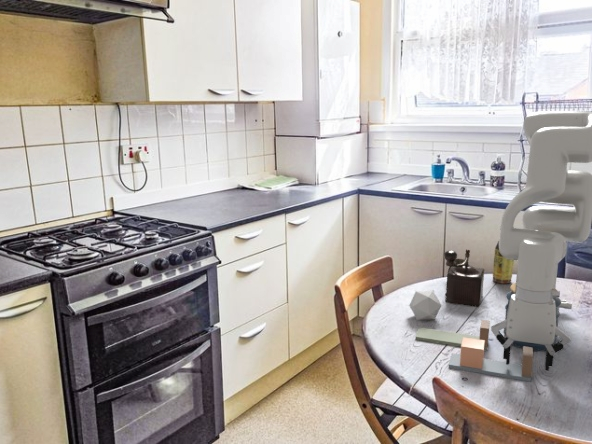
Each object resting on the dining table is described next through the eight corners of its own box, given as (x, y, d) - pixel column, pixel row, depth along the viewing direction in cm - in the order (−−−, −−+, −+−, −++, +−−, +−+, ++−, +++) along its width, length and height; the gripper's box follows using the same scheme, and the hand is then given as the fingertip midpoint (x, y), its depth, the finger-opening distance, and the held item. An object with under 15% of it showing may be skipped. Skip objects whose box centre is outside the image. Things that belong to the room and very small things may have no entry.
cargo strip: (530, 369, 123) (532, 346, 121) (530, 381, 117) (533, 358, 116) (451, 356, 130) (452, 334, 128) (448, 367, 124) (449, 345, 123)
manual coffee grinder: (448, 291, 172) (450, 238, 168) (483, 295, 168) (486, 242, 163) (439, 308, 158) (442, 251, 154) (477, 313, 154) (481, 255, 150)
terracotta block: (483, 359, 126) (484, 340, 125) (482, 369, 122) (483, 349, 120) (462, 355, 128) (463, 337, 127) (459, 365, 123) (461, 346, 122)
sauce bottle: (489, 278, 182) (492, 223, 178) (506, 277, 183) (510, 223, 178) (497, 285, 176) (501, 228, 171) (515, 284, 176) (520, 227, 172)
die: (434, 328, 146) (450, 298, 147) (407, 313, 147) (423, 283, 148) (426, 326, 154) (442, 298, 156) (401, 311, 155) (416, 283, 156)
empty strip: (488, 340, 137) (489, 320, 136) (487, 350, 132) (488, 329, 130) (419, 330, 144) (420, 310, 143) (415, 339, 139) (416, 319, 137)
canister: (553, 332, 141) (559, 271, 137) (560, 354, 129) (567, 288, 125) (502, 326, 145) (506, 266, 141) (503, 347, 133) (509, 282, 129)
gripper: (575, 292, 116) (567, 364, 120) (492, 283, 122) (487, 351, 126) (579, 304, 109) (570, 380, 113) (491, 294, 116) (485, 366, 120)
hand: (526, 364), depth 120 cm, fingers open, 7 cm apart
